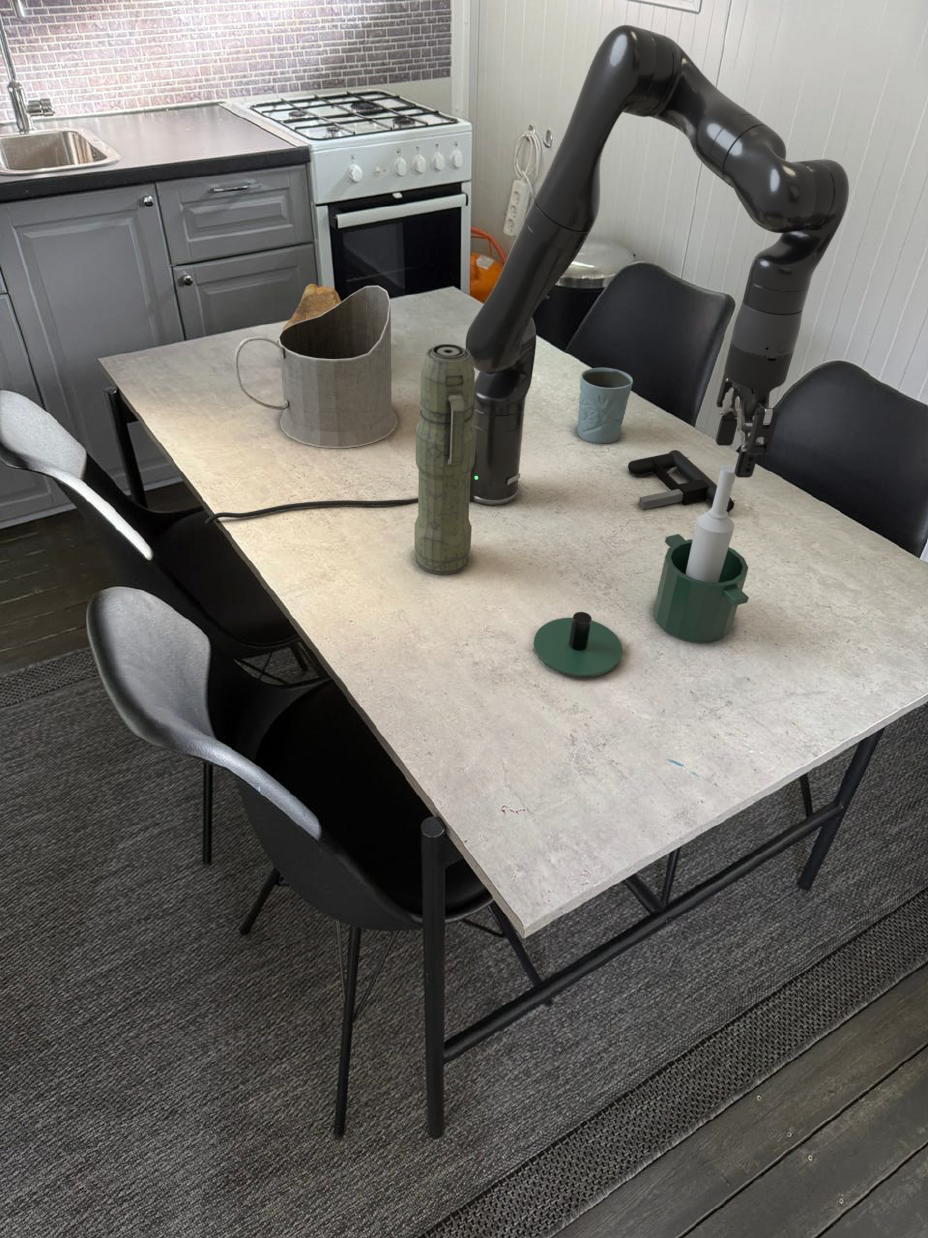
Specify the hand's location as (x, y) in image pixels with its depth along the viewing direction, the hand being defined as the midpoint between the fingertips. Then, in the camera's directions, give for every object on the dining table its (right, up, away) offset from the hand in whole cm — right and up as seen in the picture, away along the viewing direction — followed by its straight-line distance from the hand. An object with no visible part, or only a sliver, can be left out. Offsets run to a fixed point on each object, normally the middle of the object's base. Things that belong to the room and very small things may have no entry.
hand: (732, 459), depth 121 cm
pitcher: (-64, +17, +61) cm, 91 cm away
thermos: (-39, -12, +26) cm, 49 cm away
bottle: (-1, -21, +17) cm, 27 cm away
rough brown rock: (-69, +36, +84) cm, 115 cm away
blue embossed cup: (-8, +16, +63) cm, 66 cm away
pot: (-1, -21, +17) cm, 27 cm away
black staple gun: (+2, +2, +46) cm, 46 cm away
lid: (-19, -25, +10) cm, 33 cm away
